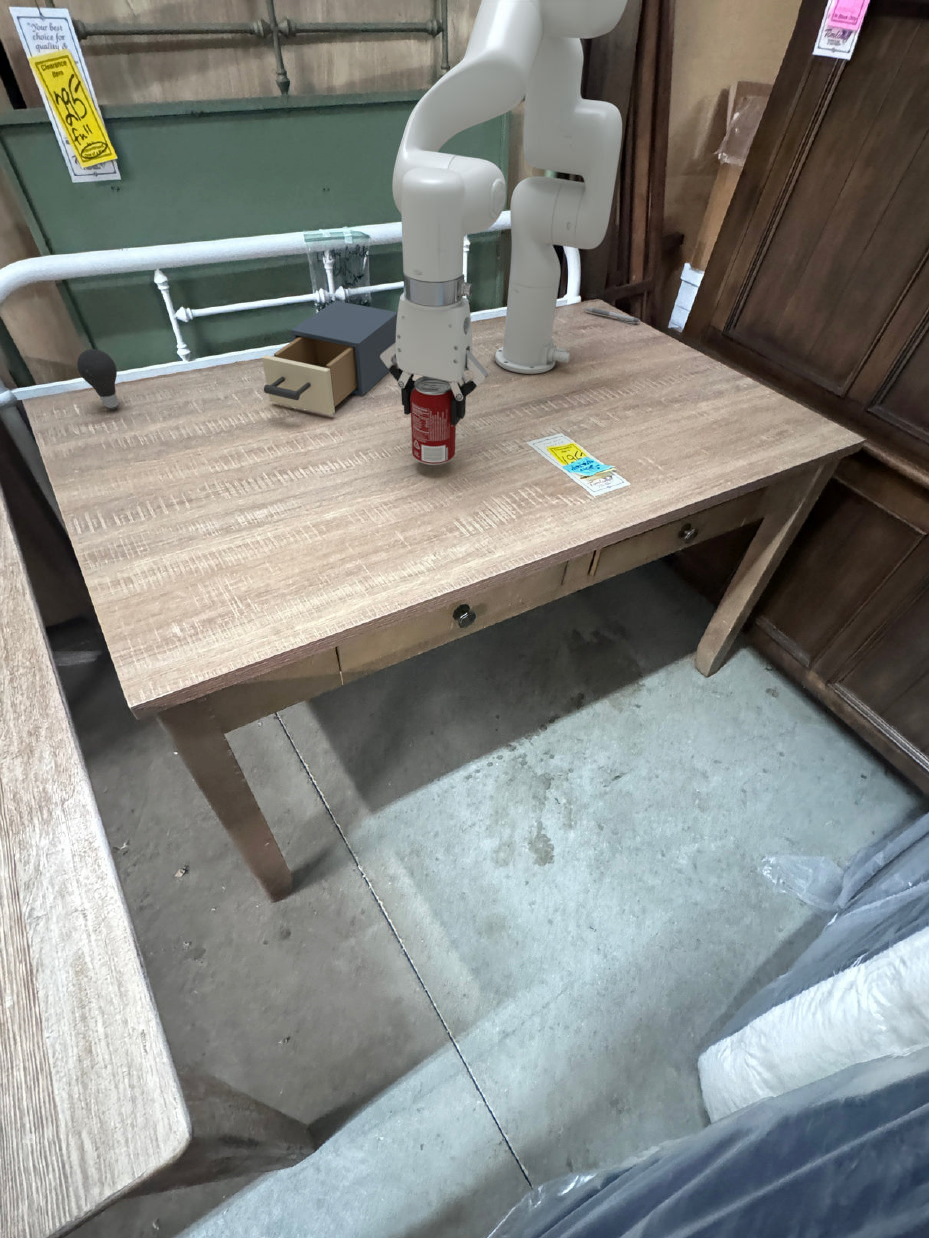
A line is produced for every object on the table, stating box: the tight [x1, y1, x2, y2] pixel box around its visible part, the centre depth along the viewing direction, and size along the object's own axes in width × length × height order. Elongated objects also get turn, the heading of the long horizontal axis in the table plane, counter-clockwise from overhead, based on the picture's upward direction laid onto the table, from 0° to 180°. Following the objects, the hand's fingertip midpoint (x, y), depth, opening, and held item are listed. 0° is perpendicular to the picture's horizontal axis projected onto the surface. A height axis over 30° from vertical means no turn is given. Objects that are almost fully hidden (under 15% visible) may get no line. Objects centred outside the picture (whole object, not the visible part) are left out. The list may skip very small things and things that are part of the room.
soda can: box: [410, 376, 457, 466], centre depth 92 cm, size 7×7×12 cm
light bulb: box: [76, 348, 120, 410], centre depth 103 cm, size 6×6×10 cm
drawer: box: [261, 336, 358, 416], centre depth 108 cm, size 21×12×8 cm, turn 160°
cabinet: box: [290, 300, 398, 397], centre depth 117 cm, size 17×14×10 cm
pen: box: [584, 307, 641, 325], centre depth 146 cm, size 1×14×1 cm, turn 62°
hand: (433, 414), depth 92 cm, fingers closed on soda can, 6 cm apart
